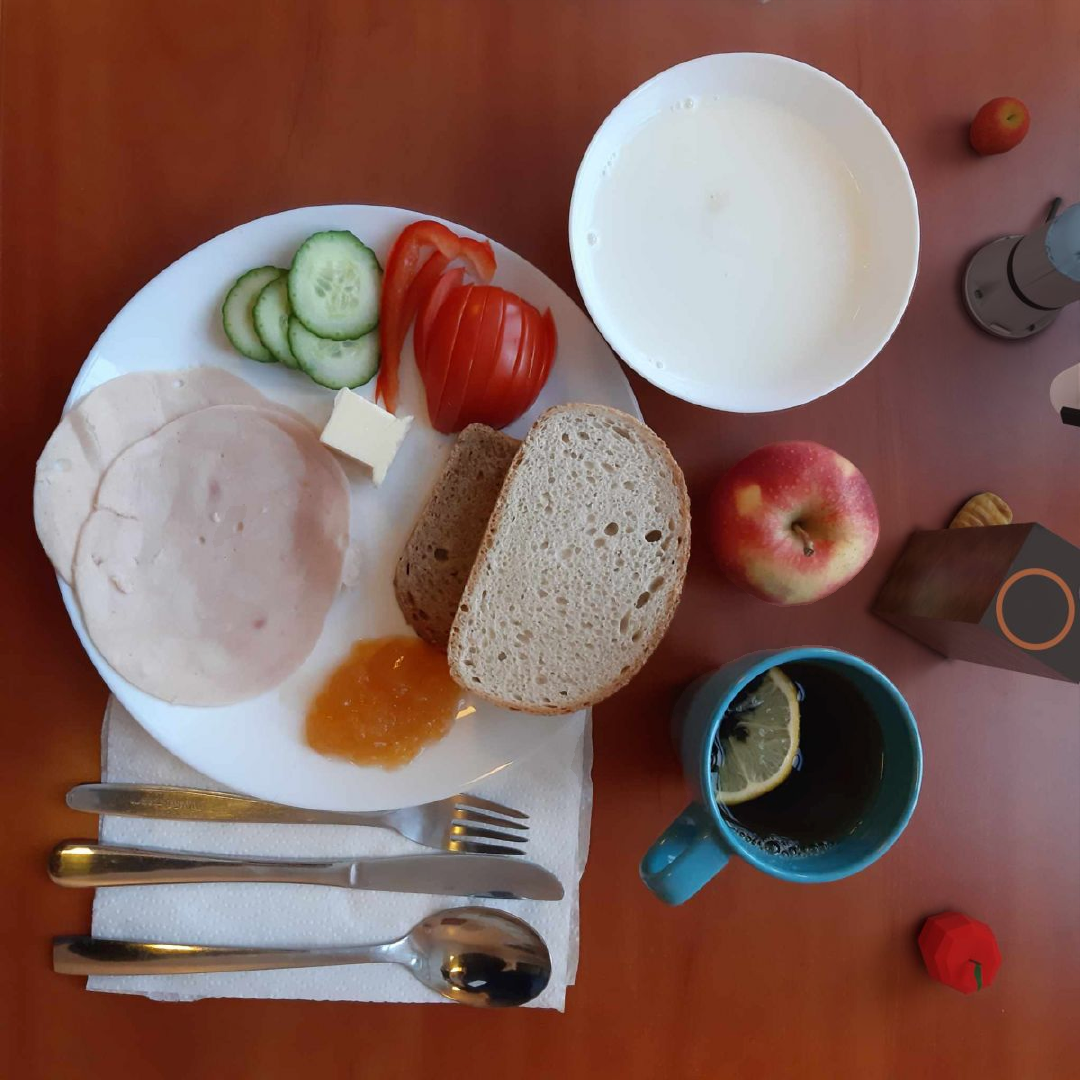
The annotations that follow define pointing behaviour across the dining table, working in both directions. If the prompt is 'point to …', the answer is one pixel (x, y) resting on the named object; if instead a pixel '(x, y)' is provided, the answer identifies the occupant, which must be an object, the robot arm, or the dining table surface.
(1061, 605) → the hob plate
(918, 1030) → the dining table surface
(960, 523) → the pastry
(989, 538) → the stove stand
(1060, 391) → the cup
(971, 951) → the apple
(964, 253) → the dining table surface
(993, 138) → the apple
